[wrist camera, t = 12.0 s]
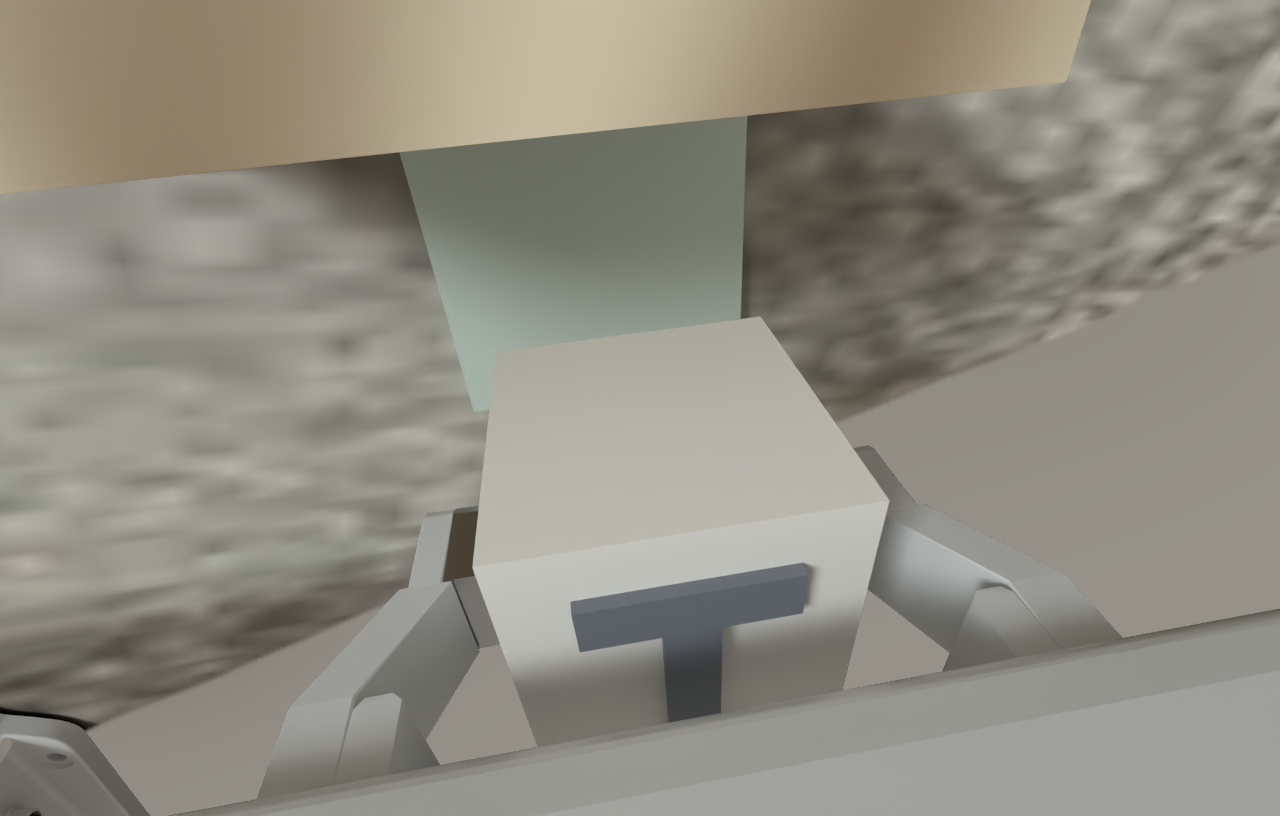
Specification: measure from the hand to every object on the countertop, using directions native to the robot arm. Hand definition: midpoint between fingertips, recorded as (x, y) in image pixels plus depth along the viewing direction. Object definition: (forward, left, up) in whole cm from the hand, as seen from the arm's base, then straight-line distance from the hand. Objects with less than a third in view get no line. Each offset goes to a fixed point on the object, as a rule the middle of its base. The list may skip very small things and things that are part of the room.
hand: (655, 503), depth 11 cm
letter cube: (0, 0, -2) cm, 2 cm away
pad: (0, 0, -13) cm, 13 cm away
